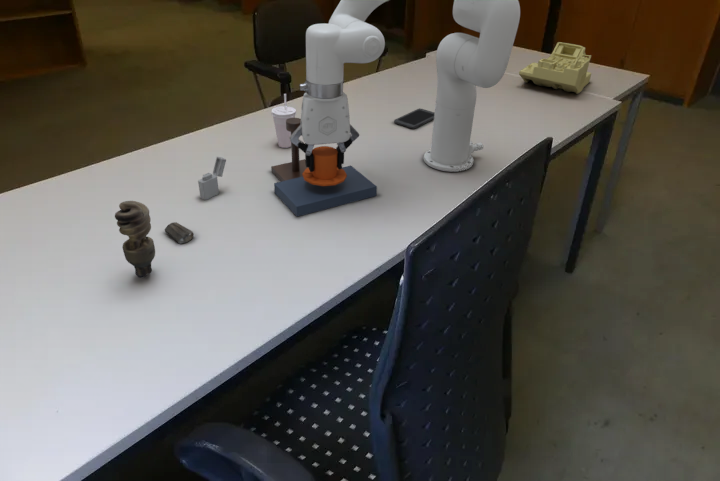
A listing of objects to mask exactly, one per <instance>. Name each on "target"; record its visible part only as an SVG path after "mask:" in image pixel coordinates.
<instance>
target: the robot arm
mask: <svg viewBox="0 0 720 481" xmlns="http://www.w3.org/2000/svg"><path fill="white" fill-rule="evenodd" d="M389 1H390V0H340V1H339V3H338V4H337V6H336V8H335V9H334V11H333V13H332V14H331V16H330V18H329V20H328V23H325V22H324V23H315V24H314V23H313V24H311V25H310V26H308V28H306V31H305V72H306V74H305V75H306V76H305V81H304V82H303V83H299V87H298V88H299V91H303V92H304V93H303V97H302V101H301V108H300V109H301V110H300V119H301V122H300V126H299V127H298V128H297V129H296V130H295V131H294V133H293V134H292V135H291V136H290V141H291V142H292V143H293V144H295V145H296V146H298V147H299V150H301V151H302V152H303V153H304V154H305V155H304V159H305V164H306V167H308V168H309V170H310V172H313V171H314V156H313V154H312V150H313V149H314V148H315V146H317V145H329V144H331V145H333V144H336V145H337V146H336V147H335V149H336V150H337V151H338V157H337V168H338V169H342V167H343V165H344V164H345V153H346V152H347V149H348V148H349V147H350V146H351V145H353V142H355V141H356V140H357V139H358V138H359V137H360V133H359V132H358V131H357V129H356V128H355V127H354V126H353V125H352V124H351V120H350V106H349V99H348V95H347V94H346V92H344V68H345V67H344V66H345V65H344V64H368V63H369V64H370V63H372V62H375V61H376V60H378V59H379V58H380V57H381V56H382V54H383V53H384V50H385V46H386V42H385V37H384V35H383V33H382V32H381V30H380V29H379V28H378V27H376V26H374V25H373V24H370V23H368V22H366V20H367V19H368V17H369V16H370V15H371V13H372V12H373V11H374V10H376V9H377V8H378V7H379V6H381V5H382V4H384V3H386V2H389ZM452 17H453V18H452V19H453V20H454V21H455V23H457V24H458V25H460V26H461V27H463V28H466V29H468V30H471V31H474V32H477V33H479V37H477V36H474V35H471V34H468V33H465V32H454V33H450V34H446V36H445V37H443V38H442V40H441V41H440V42H439V44H438V46H437V50H436V53H435V63H436V64H435V66H436V76H437V78H436V79H437V82H436V83H437V84H436V95H435V96H436V98H435V106H434V113H435V114H434V119H433V125H432V133H431V143H430V144H431V145H430V149H429V150H426V151H425V152H424V155H423V161H424V163H425V164H426V165H427V166H429V167H431V168H433V169H435V170H439V171H442V172H451V173H453V172H454V173H455V172H463V171H467V170H468V169H470V168H471V167H473V165H474V156H473V155H472V154H473V153H475V152H477V151H482V150H483V149H484V145H483V143H482V142H476V143H473V141H472V140H471V137H472V131H473V122H474V118H475V110H476V109H475V108H476V103H477V87H479V88H483V89H489V88H492V87H494V86H496V85H497V84H498V83H499V82H500V81H501V80H502V78H503V77H504V74H506V70H507V68H508V65H509V62H510V57H511V54H512V51H513V46H514V43H515V39H516V36H517V33H518V29H519V24H520V18H521V6H520V1H519V0H453V5H452ZM301 136H302V140H303V141H302V140H300V137H301ZM298 138H299V139H298Z"/></svg>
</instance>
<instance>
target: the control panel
mask: <svg viewBox="0 0 720 481" xmlns="http://www.w3.org/2000/svg"><path fill="white" fill-rule="evenodd" d="M592 56H593V55H592V54H590V55H589V54H586V47H585V46H583V45H580V44H574V43H569V42H561V41H558V42H557V43H556V45H555V47H554V49H553V51H552V52H551V54H550V55H549V56H548V57H547V58H544V57H543V58H541V59H539V60H538V62H535V61H534V62H531V63H529V64H527V66H526V67H523V68H522V69H521V70H519V71H518V75H519V76H520V78H521V79H522V80H523V82H524V83H528V82H533V84H534V85H537V86H541V87H548V88H552V89H555V90H558V89H562V90H563V91H564V92H567V93H571V92H572V93H575V94H577V95H578V94H580V93H581V92H582V91H583V90H584V87H586V86H587V85H588V84H589V83H590V80H591V76H592V72H590V71H588V70H589V65H590V62H591V59H592Z"/></svg>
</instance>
